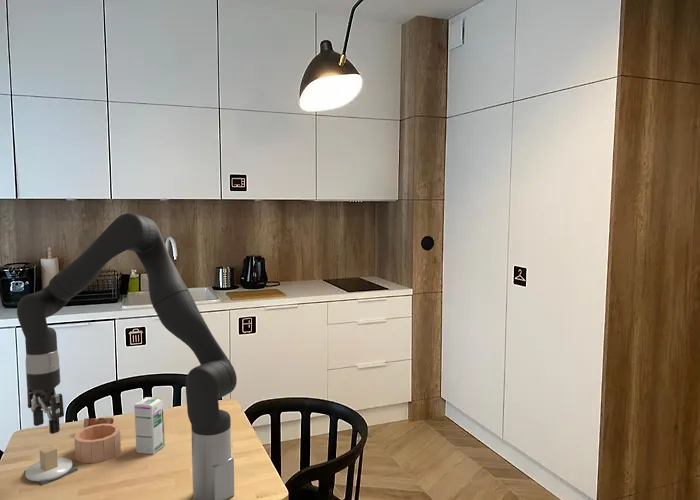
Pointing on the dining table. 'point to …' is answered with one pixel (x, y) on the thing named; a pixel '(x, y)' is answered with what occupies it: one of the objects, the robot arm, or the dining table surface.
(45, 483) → the mat
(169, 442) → the dining table surface
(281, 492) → the dining table surface
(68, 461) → the lid
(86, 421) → the fruit slice
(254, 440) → the dining table surface
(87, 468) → the dining table surface
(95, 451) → the bowl
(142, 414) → the syrup box
